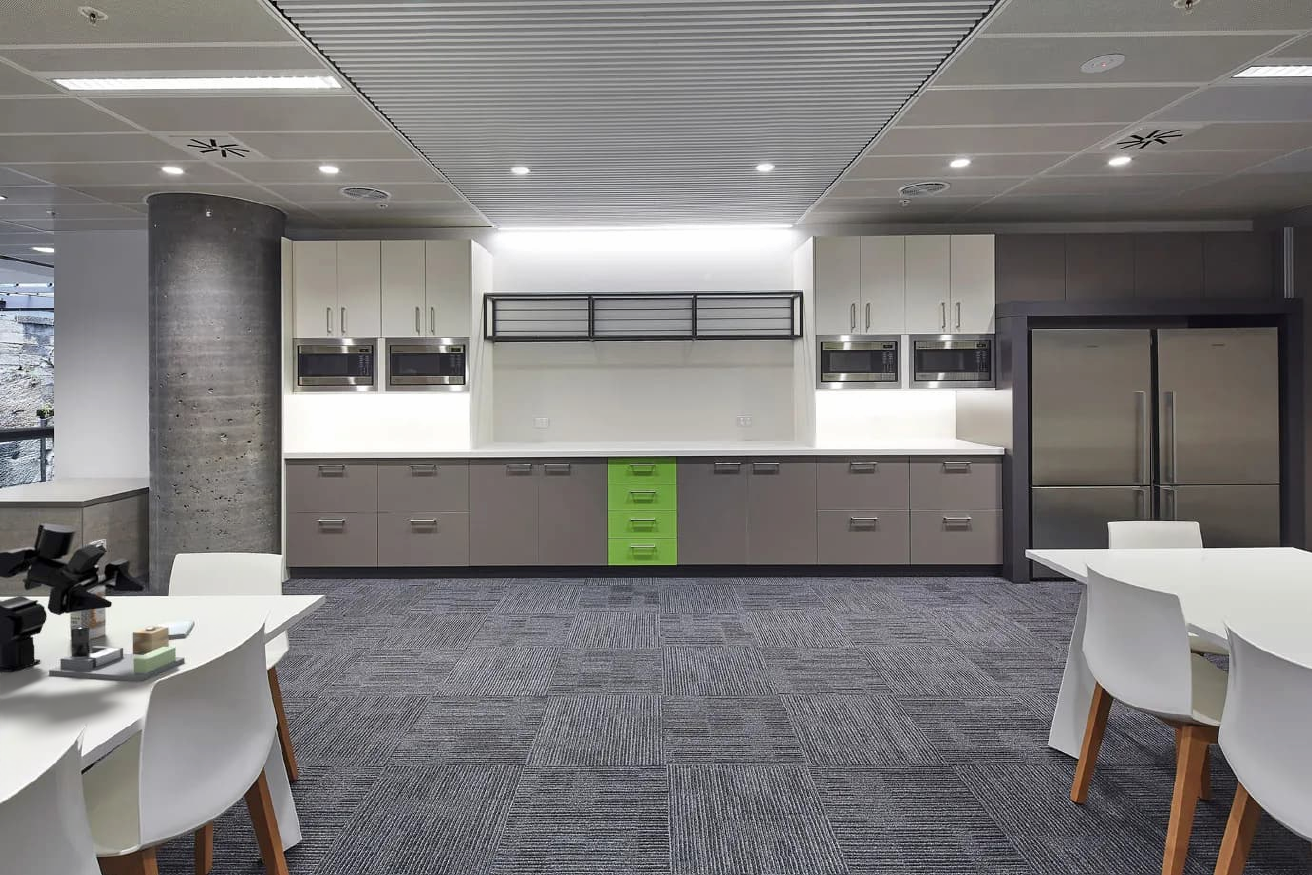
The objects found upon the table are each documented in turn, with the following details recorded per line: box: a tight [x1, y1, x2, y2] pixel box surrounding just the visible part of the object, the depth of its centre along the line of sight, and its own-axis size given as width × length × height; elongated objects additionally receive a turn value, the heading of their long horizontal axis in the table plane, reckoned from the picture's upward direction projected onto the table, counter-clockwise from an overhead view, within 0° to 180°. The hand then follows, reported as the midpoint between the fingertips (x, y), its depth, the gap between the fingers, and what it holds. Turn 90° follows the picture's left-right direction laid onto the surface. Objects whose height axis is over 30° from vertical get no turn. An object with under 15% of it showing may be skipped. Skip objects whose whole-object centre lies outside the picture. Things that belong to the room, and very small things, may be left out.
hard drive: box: [156, 620, 195, 640], centre depth 186 cm, size 2×8×12 cm
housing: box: [132, 625, 170, 655], centre depth 172 cm, size 5×5×5 cm
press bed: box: [48, 645, 185, 682], centre depth 160 cm, size 22×12×4 cm, turn 83°
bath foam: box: [69, 574, 107, 640], centre depth 181 cm, size 7×7×20 cm
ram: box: [69, 626, 120, 667], centre depth 161 cm, size 9×6×7 cm
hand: (127, 596), depth 159 cm, fingers open, 9 cm apart
